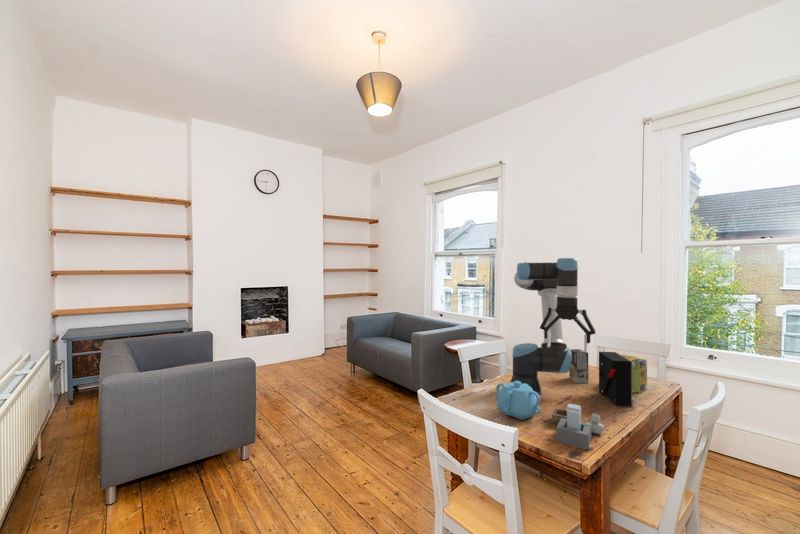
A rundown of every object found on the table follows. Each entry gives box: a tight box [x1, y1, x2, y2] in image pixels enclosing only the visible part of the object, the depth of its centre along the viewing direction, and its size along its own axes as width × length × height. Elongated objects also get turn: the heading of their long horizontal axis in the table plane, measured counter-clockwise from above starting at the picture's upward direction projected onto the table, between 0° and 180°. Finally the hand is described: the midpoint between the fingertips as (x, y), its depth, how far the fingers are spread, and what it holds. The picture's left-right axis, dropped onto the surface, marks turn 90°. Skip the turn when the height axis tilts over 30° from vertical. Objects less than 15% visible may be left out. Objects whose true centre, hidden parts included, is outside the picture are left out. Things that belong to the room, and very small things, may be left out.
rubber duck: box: [587, 411, 605, 435], centre depth 132 cm, size 5×7×8 cm
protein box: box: [618, 353, 648, 394], centre depth 181 cm, size 10×15×16 cm
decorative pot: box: [495, 381, 542, 421], centre depth 148 cm, size 16×16×14 cm
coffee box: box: [568, 348, 589, 384], centre depth 192 cm, size 9×6×16 cm
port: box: [555, 418, 592, 450], centre depth 126 cm, size 10×10×5 cm
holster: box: [551, 407, 567, 427], centre depth 139 cm, size 8×8×4 cm
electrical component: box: [598, 351, 636, 408], centre depth 165 cm, size 18×10×20 cm, turn 168°
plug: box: [566, 403, 582, 431], centre depth 126 cm, size 4×4×12 cm
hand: (566, 348), depth 143 cm, fingers open, 13 cm apart
